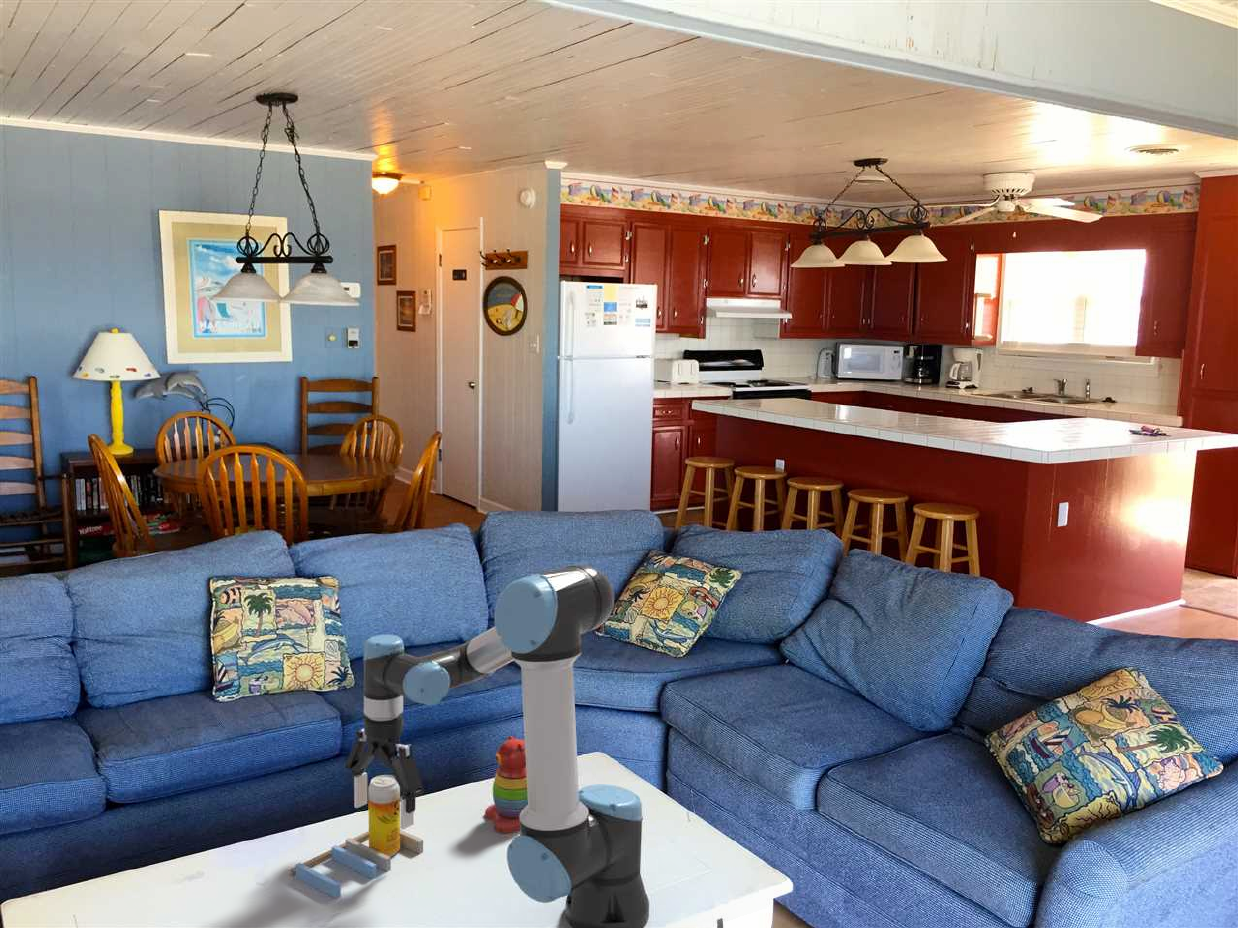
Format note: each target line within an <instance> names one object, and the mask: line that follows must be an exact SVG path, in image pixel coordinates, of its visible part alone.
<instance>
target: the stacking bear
mask: <svg viewBox="0 0 1238 928" xmlns="http://www.w3.org/2000/svg"><path fill="white" fill-rule="evenodd" d="M495 760H496V763H497V764H498V765H499V766H498V767H497V769H496V772H495V775H494V781H493V784H492V785H493V786H492V798H493V802H494V803H493V804H492V805H489V806H488V807H486V809H485V811H484V815H485V818H487V819H490V820H491V821H493V822H494V827H493V828H494V831H495V832H496V833H501V834H509V833H514V832H517V831H520V813H521V812H522V810H523V809H524V808H525V807H526V806H527V805H528V794H527V774H526V754H525V740H523V739H519V738H515V737H514V736H512V735H510V736H508V737H507V740H506V741H504V742H503V743H501V745H500V746H499V748H498V750H497V751H496V753H495Z"/></svg>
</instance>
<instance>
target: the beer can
mask: <svg viewBox="0 0 1238 928" xmlns="http://www.w3.org/2000/svg"><path fill="white" fill-rule="evenodd" d="M367 800H368V831H369V839H368V847H370V848H372V849H374V850H376V851H378V852H381V853H383V854H385V855H387V856H389V857H391V858H392V857H394V856H395V855H396V854H398V851H400V849H401V845H400V830H401V828H400V825H401V789H400V787H399V785H398V783H397V781H396V779H395V776H394V775H391V774H382V775H377V776H375V777H372V779H371V780H370V783H369V785H368V786H367Z"/></svg>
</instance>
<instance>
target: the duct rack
mask: <svg viewBox="0 0 1238 928" xmlns="http://www.w3.org/2000/svg"><path fill="white" fill-rule="evenodd" d="M367 840H369V830H368V831H366V832H365V833H362V834H360V835H357V836H356V837H354V838H351V837H349V838H347V839H346V840H345V842H344V843H342V844H339V845H337V844H335V845H332V846H331V849H330V850H327V851H326V852H323V853H321V854H320V855H318V856H315V857H314V858H311V859H310V860H306V861H305V862H304V863H301V862H298V863H296V864H295V865H294V867H292V868H291V869H290V875H291V876H292V877H295V878H296V879H298V880H300V881H301V882H304V883H306V884H307V885H308V886H309V885H310V886H311V887H313V888H315V889H317V890H319V891H321V892H322V893H324V894H326V895H329V896H330V897H332V898H334V899H335V900H337V899H339V898H341V896H342V893H341V891H342V888H341V886H342V884H341V882H338V881H336V880H334V879H332V878H330V877H328V876H326V874H325V875H324V874H323V873H320V872H319V871H317V870H315V869H313V868H314V867H315V866H317V865H319V864H321V863H323V862H325V861H327V860H329V859H331V860H334V861H335V862H336V863H339V864H341V865H344V866H345V867H347V868H349V869H351V870H353V871H355V872H357V873H359V874H361V875H362V876H363V875H364V876H365V877H367V878H369V879H371V880H374V879H376V878H377V873H378V871H377V868H379V869H381V870H383V871H385V872H389V871H391V870H392V865H391V864H392V862H391V859H392V857H389V856H387V855H385V854H383V853H381V852H378V851H376V850H374V849H372V848H370V847H369V845H366V844H363V842H365V841H367ZM401 846H402V847H404V848H406V849H408V850H410V851H413V852H414V853H417V854H419V855H420V854H421V853H423V852H424V839H422V838H420V837H417V836H415V835H412V834H411V833H409V832H406V831H405V830H404V831H403V829H400V847H401Z"/></svg>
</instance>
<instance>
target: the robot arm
mask: <svg viewBox="0 0 1238 928" xmlns="http://www.w3.org/2000/svg"><path fill="white" fill-rule="evenodd" d="M614 593H615V592H614V589H613V586H612V583H611V582H610V580H609V578H608V577H607V576H606V575H605V574H604V573H603V572H602V571H601V570H599V569H597V568H595V567H593V566H591V565H585V564H584V565H583V564H573V565H569V566H566V567H563V568H559V569H552V570H549V571H544V572H539V573H535V574H533V573H532V574H529V575H526V576H524V577H522V578H519V579H516V580H514V581H511V582H510V583H509V584H508V585H506V586H505V588H504V589H503V590H502V591H501V593H500V594H499V596H498V598H497V600H496V604H495V606H494V607H495V608H494V615H493V616H494V626H493V627H491V628H489V629H487V630H485V631H484V632H482V633H480V634H479V635H477V636H475V637H473V638H472V639H469V640H468V641H466V642H465V643H463V644H460V645H458V646H457V645H456V646H455V647H452V648H449V649H445V650H441V651H438V652H435V653H431V654H427V655H424V656H421V657H418V656H417V657H416V656H413V655H411V654H408V653H406V652H405V646H404V645H405V644H404V641H403V639H402V637H400V636H398V635H394V634H378V635H374V636H371V637H369V638H368V639H367V640H366V641H365V643H364V650H363V651H364V653H363V658H362V659H363V714H364V717H363V728H361V729H359V730H356V731H355V741H354V743H353V745H352V748H351V751H350V753H349V756H348V757H347V760H346V763H345V767H344V768H345V769H346V770H347V771H350V774H351V775H352V789H353V790H354V791H353V792H354V793H353V794H354V799H353V800H354V804H353V805H354V808H355V809H358V808H361V807H363V806H366V805H367V804H368V773H367V772H366V771H368V770H367V768H368V766H369V765H370V764H371V762H372V761H374V759H375V760H380V761H381V762H382V763H385V764H386V767H388V768H390V769H391V773H392V774H393V776H395V779H396V781H397V783H398V785H399V787H400V792H401V793H402V796H400V830H402V831H403V830H404V831H405V830H406V829H407V828H409V827H411V826H413V825H414V821H415V820H414V818H415V817H414V813H415V810H416V798H417V797H418V796H420V795H423V794H424V793H425V791H424V790H425V789H424V787H423V784H422V783H423V782H422V781H421V778H420V774H419V771H418V767H417V765H416V762H415V758H414V753H413V745H412V744H411V743H407V744H402V743H401V740H400V737H401V735H402V734H403V732H404V714H403V712H404V697H405V698H406V699H409V700H410V701H412V702H415V703H419V704H423V705H428V706H433V705H436V704H438V703H440V701H441V700H442V699H443V698H445V697H446V695H447V694H448V692H449V690H453V689H456V688H457V687H460V686H464V685H466V684H470V683H472V682H473V683H474V682H478V681H481V680H484V679H486V678H488V677H490V676H492V675H493V674H495V672H496V671H497V670H498V669H500V668H503V667H504V666H506V665H508V664H509V663H511V662H515V663H516V664H518V665H519V666H520V669H521V670H520V672H521V673H520V674H521V691H522V692H521V694H522V712H523V713H522V714H523V727H524V729H523V730H524V731H523V732H524V742H525V754H526V774H527V794H528V805H527V806H526V807H525V808H524V809H523V810H522V812H521V813H520V830H519V834H520V835H518V836H515V837H514V838H513V839H512V840H511V841H510V843H509V844H508V846H507V849H506V861H507V866H508V870H509V873H510V875H511V877H512V879H513V880H514V882H515V883H516V884H517V886H518V888H519V889H520V891H522V893H523V894H525V895H526V896H527V897H529V898H530V899H532V900H534V901H535V902H538V903H542V904H548V903H552V902H555V901H556V900H558V899H560V898H564V897H566V899H565V908H564V909H565V910H564V913H565V918H566V921H567V922H568V923H569V925H570V926H571V927H573V928H643V927H644V926H645V925H646V924H647V922H648V920H649V917H650V902H649V901H650V900H649V897H648V895H647V893H646V888H645V886H644V882H643V878H642V875H641V864H642V863H641V861H642V860H641V859H642V839H643V838H642V837H643V836H642V835H643V834H642V831H643V820H644V816H643V805H642V800H641V798H640V797H639V795H638V794H636V793H635V792H633V791H632V790H630V789H628V788H625V787H622V786H617V785H612V784H589V785H586V786H584V787H582V788H581V789H580V787H579V772H578V771H579V770H578V752H577V751H578V749H577V729H576V727H577V725H576V723H577V722H576V706H575V704H576V703H575V701H576V700H575V684H574V663H575V661H576V660H577V659H578V658H579V657H580V656H581V655H582V638H581V637H582V636H581V635H583V634H586V633H588V632H591V631H593V630H596V629H597V628H599V627H601V626H602V625H604V623H605V622H607V620H608V619H609V618H610V617H611V614H612V612H613V610H614V609H613V608H614V605H615V594H614ZM367 745H368V746H367ZM366 747H367V748H366ZM365 749H366V750H365ZM395 758H396V759H395Z"/></svg>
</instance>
